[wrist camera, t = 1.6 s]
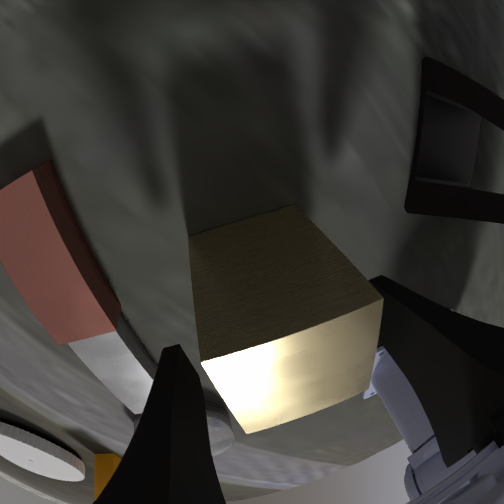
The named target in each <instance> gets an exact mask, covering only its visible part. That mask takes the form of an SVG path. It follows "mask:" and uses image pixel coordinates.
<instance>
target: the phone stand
mask: <svg viewBox="0 0 504 504" xmlns="http://www.w3.org/2000/svg"><path fill="white" fill-rule="evenodd" d="M482 117H484V118H485V119H487V120H488V121H490V122H492V123H493V124H495V125H496V126H498V127H499V128H501V129H502V130H504V100H503V99H502V98H500V97H499V96H497V95H496V94H494V93H493V92H491V91H490V90H488V89H487V88H485V87H483V86H482V85H480V84H479V83H477V82H475V81H474V80H472V79H470V78H468V77H467V76H465V75H463V74H461V73H460V72H458V71H456V70H454V69H452V68H450V67H448V66H446V65H444V64H442V63H440V62H438V61H436V60H434V59H432V58H430V57H424V58H423V60H422V80H421V97H420V109H419V119H418V128H417V130H418V131H419V136H418V137H416V144H415V151H414V157H413V164H412V169H411V175H410V181H409V186H408V191H407V196H406V201H405V206H404V207H405V210H406V212H407V213H412V214H423V215H434V216H444V217H453V218H462V219H470V220H479V221H487V222H494V223H502V224H504V194H499V193H493V192H487V191H481V190H474V189H472V187H471V181H472V176H473V171H474V166H475V161H476V155H477V149H478V142H479V135H480V127H481V118H482Z"/></svg>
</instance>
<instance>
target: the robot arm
mask: <svg viewBox="0 0 504 504" xmlns="http://www.w3.org/2000/svg"><path fill="white" fill-rule="evenodd" d="M368 281H369V282H370V283H371V284H372V286H373V287H374V288H375V289H376V290H377V291H378V292H379V293H380V295H381V296H382V297H383V298H384V301H383V309H382V317H381V324H380V331H379V338H378V340H379V341H380V343H381V344H382V345H383V346H381V347H379V348H377V350H376V356H375V361H374V367H373V372H372V377H371V381H370V386H369V389H368V390H366V391H364V392H363V393H362V397H363V398H364V399H366V398H368V397H370V396H373V395H375V394H378V396H379V397H380V399H381V401H382V402H383V404H384V406H385V408H386V409H387V411H388V413H389V414H390V416H391V418H392V419H393V421H394V423H395V425H396V426H397V428H398V430H399V431H400V433H401V435H402V437H403V438H404V440H405V442H406V444H407V445H408V447H409V449H410V451H411V452H412V455H411V456H410V457H408V458H407V459H408V461H409V464H408V465H407V468H406V473H405V476H404V483H405V488H406V491H407V494H408V497H409V498H410V502H408V503H406V504H504V328H502V327H498V326H494V325H491V324H487V323H484V322H481V321H478V320H475V319H472V318H469V317H467V316H464V315H461V314H459V313H456V312H454V310H453V309H448V308H445V307H443V306H441V305H439V304H437V303H435V302H433V301H431V300H429V299H427V298H425V297H423V296H421V295H419V294H417V293H415V292H413V291H411V290H410V289H408V288H406V287H404V286H402V285H400V284H398V283H396V282H395V281H393V280H391V279H389V278H387V277H385V276H383V275H380V276H378V277H376V278H373V279H371V280H368ZM93 504H226V502H225V499H224V496H223V493H222V490H221V487H220V484H219V481H218V477H217V474H216V470H215V466H214V463H213V458H212V453H211V447H210V440H209V432H208V424H207V416H206V407H205V400H204V395H203V391H202V386H201V382H200V378H199V375H198V373H197V372H196V370H195V369H194V367H193V365H192V364H191V362H190V361H189V359H188V357H187V356H186V354H185V353H184V351H183V349H182V348H181V346H180V344H177V345H174V346H170V347H166V348H163V350H162V353H161V356H160V360H159V363H158V367H157V370H156V373H155V377H154V380H153V383H152V386H151V389H150V392H149V395H148V398H147V401H146V404H145V407H144V410H143V412H142V415H141V418H140V420H139V423H138V425H137V428H136V430H135V433H134V435H133V437H132V439H131V441H130V444H129V446H128V448H127V450H126V452H125V454H124V456H123V457H122V459H121V461H120V463H119V465H118V467H117V469H116V470H115V472H114V474H113V475H112V477H111V478H110V480H109V481H108V483H107V484H106V486H105V487H104V489H103V490H102V492H101V493H100V495H99V496H98V498H97V499H96V500H95V501H94V503H93Z"/></svg>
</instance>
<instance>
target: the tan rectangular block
mask: <svg viewBox="0 0 504 504" xmlns="http://www.w3.org/2000/svg"><path fill="white" fill-rule="evenodd" d="M188 244H189V257H190V269H191V281H192V291H193V301H194V311H195V320H196V328H197V336H198V344H199V352H200V359H201V364H202V365H203V367H204V369H205V370H206V372H207V374H208V375H209V377H210V379H211V380H212V382H213V383H214V385H215V387H216V388H217V390H218V391H219V393H220V395H221V396H222V398H223V399H224V401H225V402H226V404H227V405H228V407H229V409H230V410H231V412H232V413H233V415H234V416H235V418H236V419H237V421H238V422H239V423H240V425H241V426H242V428H243V429H244V431H245V432H246V434H248V433H252V432H256V431H259V430H263V429H266V428H270V427H273V426H276V425H279V424H282V423H285V422H288V421H291V420H294V419H297V418H300V417H303V416H306V415H308V414H311V413H314V412H316V411H319V410H322V409H324V408H327V407H329V406H332V405H334V404H336V403H339V402H341V401H344V400H346V399H348V398H350V397H353V396H355V395H357V394H359V393H362V392H364V391H366V390H368V389H369V386H370V381H371V377H372V372H373V367H374V361H375V356H376V350H377V344H378V338H379V331H380V324H381V317H382V309H383V301H384V298H383V297H382V296H381V295H380V293H379V292H378V291H377V290H376V289H375V288H374V287H373V286H372V284H371V283H370V282H369V281H368V280H367V279H366V278H365V277H364V276H363V275H362V273H361V272H360V271H359V270H358V269H357V268H356V267H355V266H354V265H353V264H352V263H351V262H350V260H349V259H348V258H347V257H346V256H345V255H344V254H343V253H342V252H341V251H340V250H339V249H338V248H337V247H336V246H335V245H334V244H333V243H332V242H331V241H330V239H329V238H328V237H327V236H326V235H325V234H324V233H323V232H322V231H321V230H320V229H319V228H318V227H317V226H316V225H315V224H314V223H313V222H312V221H311V220H310V219H309V218H308V217H307V216H306V215H305V214H304V213H303V212H302V211H301V210H300V209H299V208H298V207H297V206H296V205H292V206H288V207H285V208H281V209H278V210H274V211H271V212H267V213H264V214H261V215H257V216H254V217H251V218H247V219H244V220H241V221H237V222H234V223H231V224H227V225H224V226H221V227H218V228H214V229H211V230H208V231H205V232H202V233H198V234H195V235H192V236H189V237H188Z"/></svg>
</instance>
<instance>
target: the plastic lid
mask: <svg viewBox="0 0 504 504" xmlns="http://www.w3.org/2000/svg"><path fill="white" fill-rule="evenodd" d="M0 455H1V456H3V457H4V458H6V459H7V460H9V461H11V462H13V463H14V464H17V465H18V466H21V467H22V468H25V469H27V470H29V471H32V472H34V473H37V474H40V475H43V476H46V477H50V478H54V479H58V480H64V481H81V480H83V479H84V478H85V466H84V463H82V461H81V460H80V459H78V457H76V456H75V455H72V453H69V451H66V450H65V449H63V448H61V447H60V446H57V445H56V444H54V443H51V442H50V441H47V440H46V439H44V438H40V437H39V436H36V435H35V434H31V433H30V432H28V431H24V430H23V429H19V428H18V427H14V426H11V425H9V424H5V423H2V422H0Z"/></svg>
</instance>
